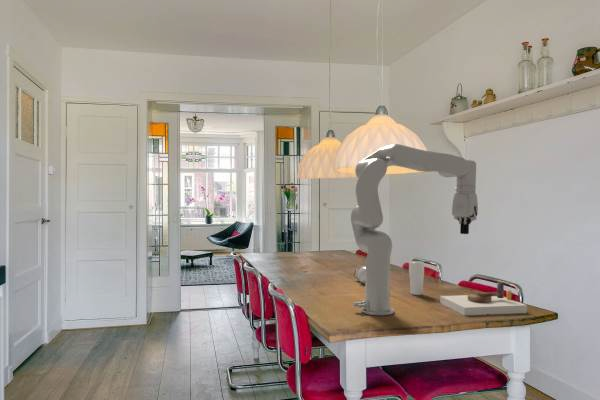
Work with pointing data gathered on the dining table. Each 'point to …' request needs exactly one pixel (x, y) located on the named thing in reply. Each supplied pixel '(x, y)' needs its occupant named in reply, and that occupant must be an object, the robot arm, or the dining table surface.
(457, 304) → the stand
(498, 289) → the brown l-shaped piece
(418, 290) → the drinking glass
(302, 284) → the dining table surface
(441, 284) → the dining table surface
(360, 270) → the potion bottle
